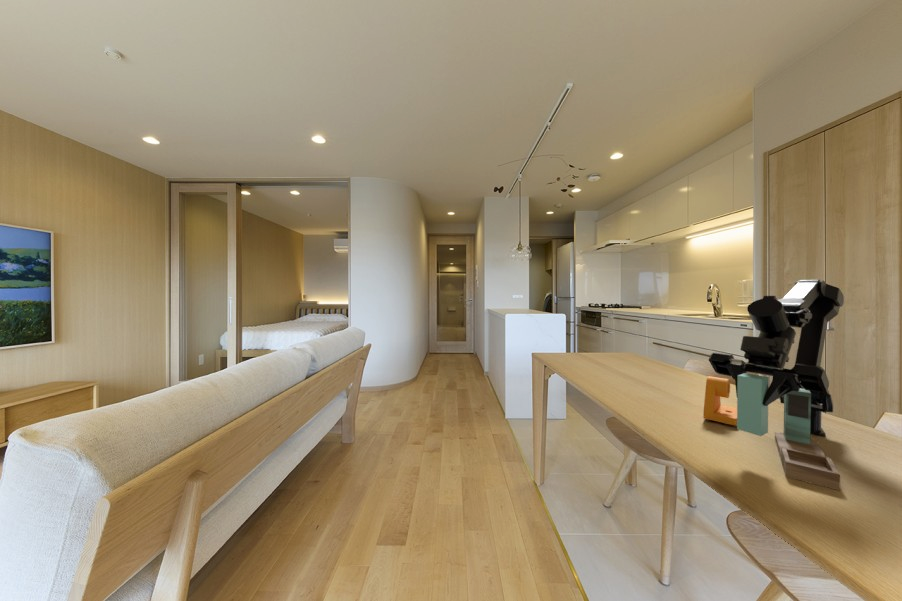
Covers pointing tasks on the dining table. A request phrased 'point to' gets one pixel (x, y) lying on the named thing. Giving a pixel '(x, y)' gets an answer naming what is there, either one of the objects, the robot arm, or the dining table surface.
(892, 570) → the dining table surface
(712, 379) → the bracket
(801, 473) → the brown wooden stand
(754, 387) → the finger block
